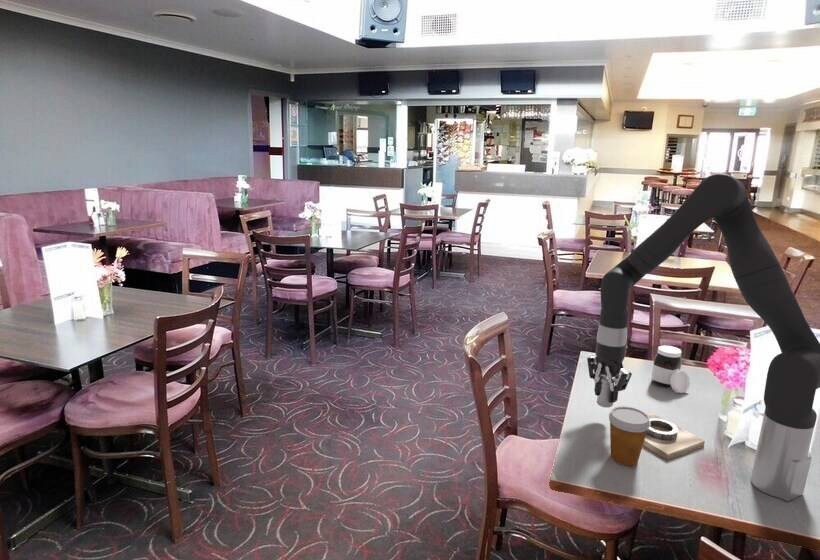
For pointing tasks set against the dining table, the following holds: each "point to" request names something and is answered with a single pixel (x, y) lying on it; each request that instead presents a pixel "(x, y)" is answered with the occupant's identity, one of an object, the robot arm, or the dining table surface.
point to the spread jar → (670, 369)
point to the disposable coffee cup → (627, 434)
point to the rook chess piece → (604, 394)
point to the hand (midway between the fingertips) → (605, 398)
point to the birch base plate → (672, 442)
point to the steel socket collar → (662, 435)
